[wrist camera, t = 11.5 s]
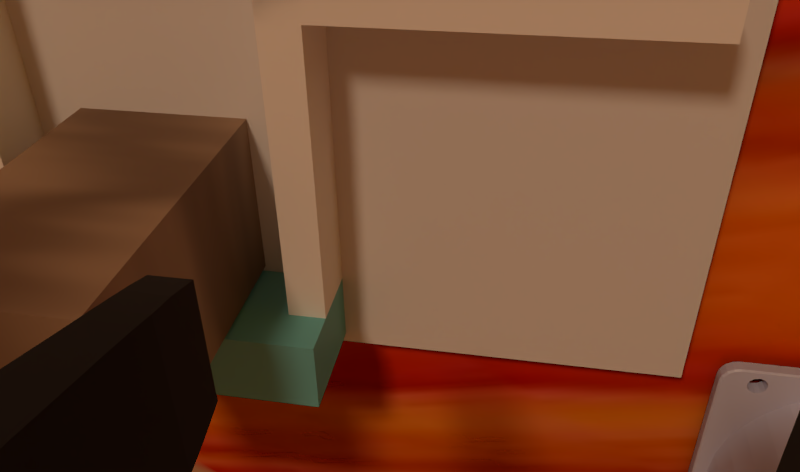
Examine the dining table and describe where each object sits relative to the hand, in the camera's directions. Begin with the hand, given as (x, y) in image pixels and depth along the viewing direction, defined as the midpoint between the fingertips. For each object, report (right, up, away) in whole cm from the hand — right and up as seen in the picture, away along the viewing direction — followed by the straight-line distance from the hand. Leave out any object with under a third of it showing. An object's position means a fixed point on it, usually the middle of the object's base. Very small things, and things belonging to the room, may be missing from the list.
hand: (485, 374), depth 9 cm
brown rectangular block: (-7, +3, +11) cm, 14 cm away
